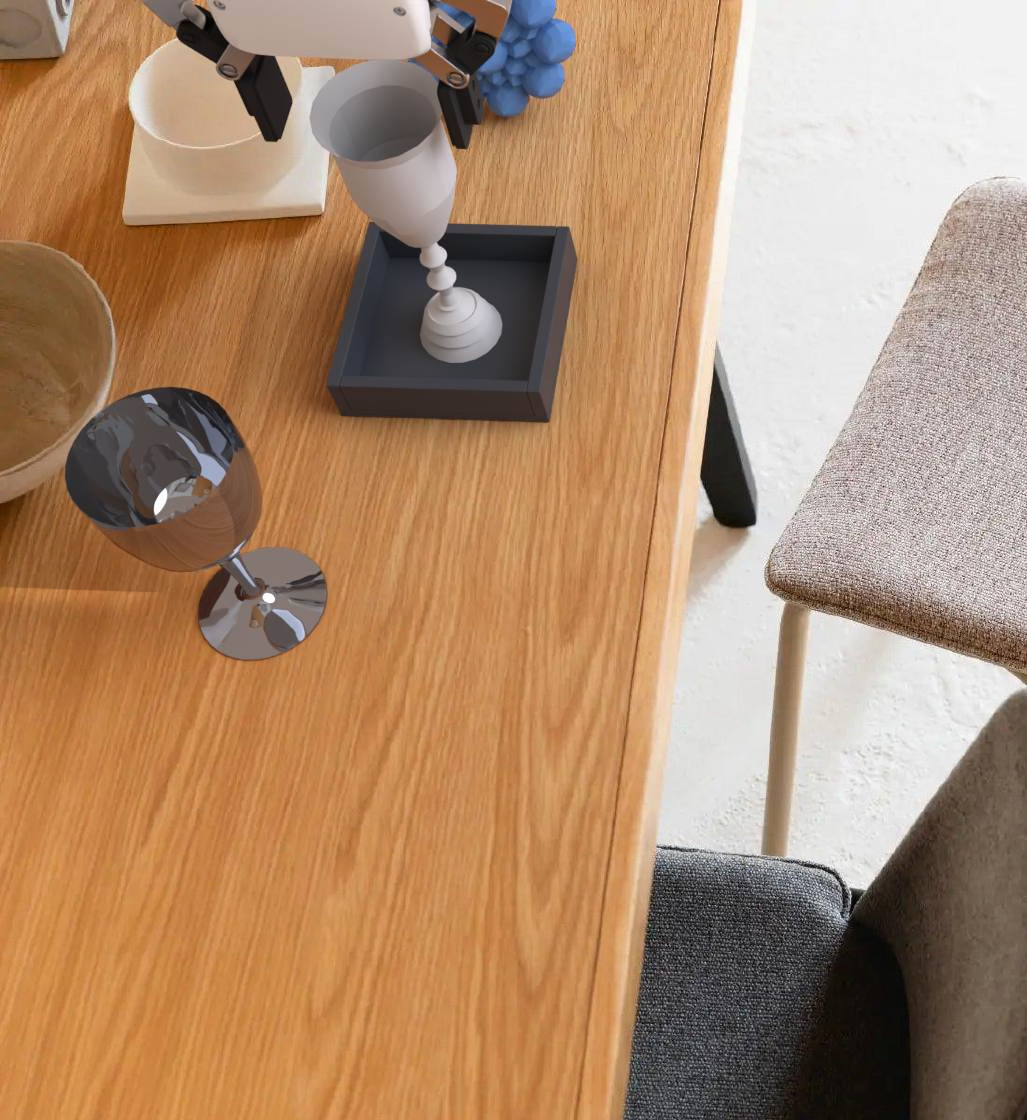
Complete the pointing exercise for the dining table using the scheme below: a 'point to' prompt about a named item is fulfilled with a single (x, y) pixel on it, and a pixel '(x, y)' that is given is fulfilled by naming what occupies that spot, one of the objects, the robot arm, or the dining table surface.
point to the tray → (397, 314)
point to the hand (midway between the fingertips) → (373, 126)
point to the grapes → (521, 56)
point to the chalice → (405, 186)
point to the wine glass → (194, 515)
